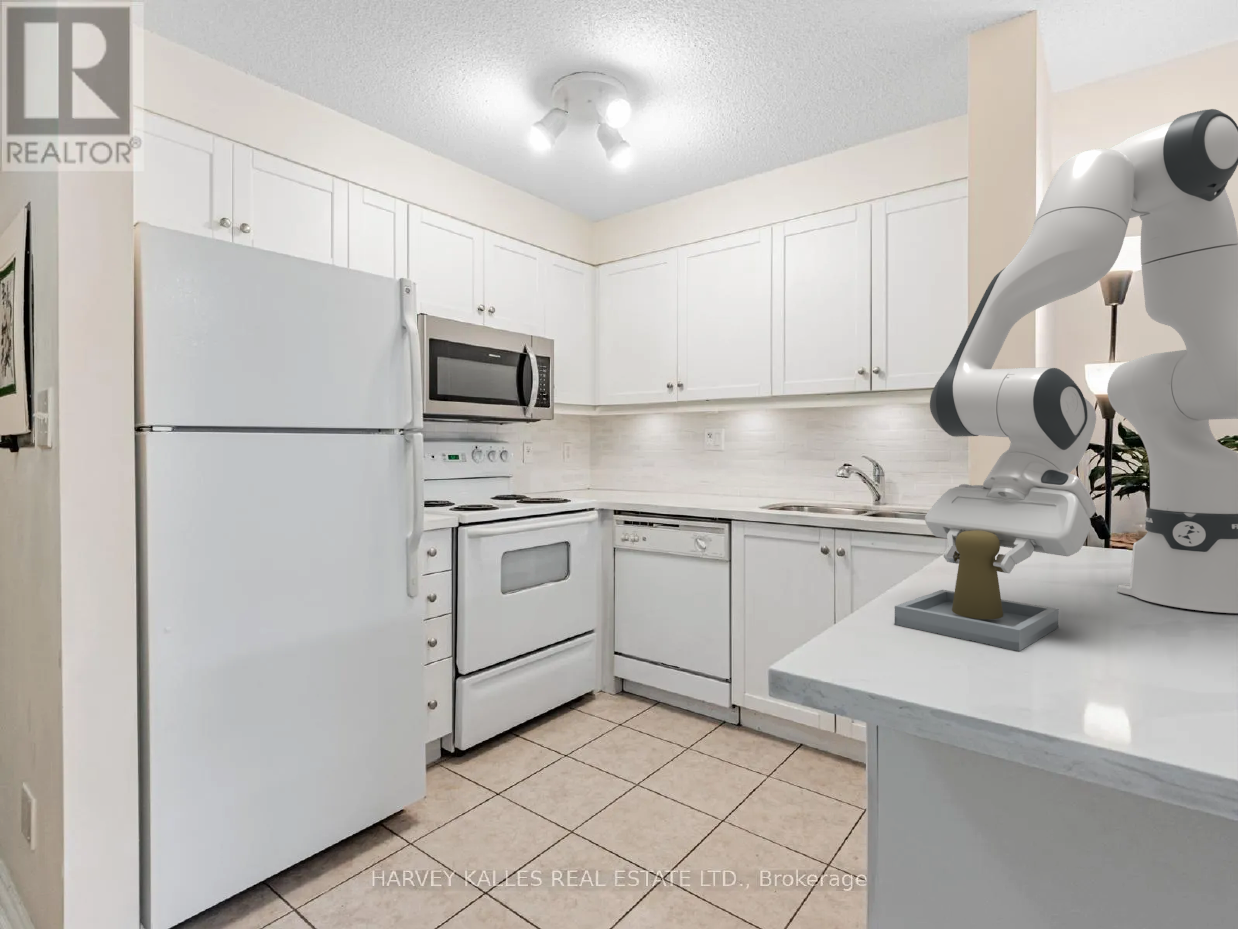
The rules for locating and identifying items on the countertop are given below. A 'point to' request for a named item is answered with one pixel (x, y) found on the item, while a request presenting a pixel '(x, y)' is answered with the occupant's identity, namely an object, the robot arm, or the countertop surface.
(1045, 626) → the slate grey tray
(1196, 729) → the countertop surface
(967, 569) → the cork
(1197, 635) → the countertop surface
